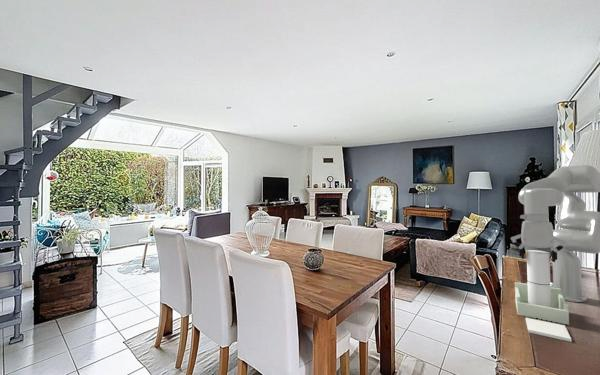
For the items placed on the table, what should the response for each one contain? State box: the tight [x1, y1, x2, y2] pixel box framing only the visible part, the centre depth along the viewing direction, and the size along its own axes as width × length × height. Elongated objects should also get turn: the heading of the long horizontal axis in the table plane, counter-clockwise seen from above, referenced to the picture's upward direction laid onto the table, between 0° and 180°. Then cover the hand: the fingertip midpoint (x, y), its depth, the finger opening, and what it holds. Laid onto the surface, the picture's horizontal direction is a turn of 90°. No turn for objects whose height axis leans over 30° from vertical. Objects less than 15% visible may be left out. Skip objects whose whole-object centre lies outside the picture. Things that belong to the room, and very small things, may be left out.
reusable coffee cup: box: [524, 245, 552, 261], centre depth 167 cm, size 13×13×15 cm
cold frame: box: [514, 281, 570, 326], centre depth 111 cm, size 15×15×9 cm
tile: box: [525, 317, 573, 343], centre depth 97 cm, size 11×11×1 cm
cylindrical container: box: [526, 250, 551, 308], centre depth 111 cm, size 7×7×25 cm
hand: (537, 259), depth 111 cm, fingers open, 9 cm apart
